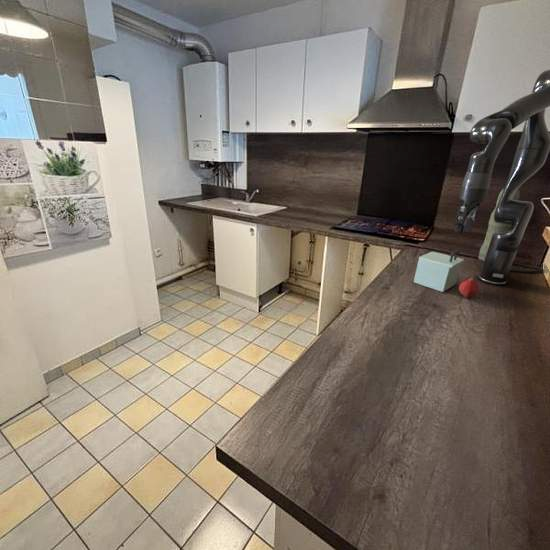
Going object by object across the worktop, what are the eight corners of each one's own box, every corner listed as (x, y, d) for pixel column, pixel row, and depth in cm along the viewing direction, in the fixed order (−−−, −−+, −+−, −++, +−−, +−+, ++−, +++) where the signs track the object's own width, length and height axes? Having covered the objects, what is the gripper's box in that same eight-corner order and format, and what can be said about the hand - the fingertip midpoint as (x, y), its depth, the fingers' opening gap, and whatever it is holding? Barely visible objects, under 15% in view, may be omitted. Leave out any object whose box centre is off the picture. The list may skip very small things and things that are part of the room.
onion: (453, 294, 110) (458, 274, 107) (467, 293, 111) (473, 274, 108) (463, 301, 105) (469, 281, 102) (478, 300, 106) (485, 280, 102)
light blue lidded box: (454, 284, 119) (461, 260, 115) (442, 292, 112) (449, 267, 108) (426, 275, 127) (431, 253, 123) (413, 282, 120) (418, 258, 116)
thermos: (501, 259, 148) (526, 188, 134) (494, 264, 141) (519, 190, 127) (482, 255, 154) (503, 186, 140) (474, 259, 147) (496, 188, 133)
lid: (464, 261, 114) (467, 249, 112) (452, 267, 107) (455, 255, 105) (431, 253, 123) (434, 242, 121) (418, 258, 116) (421, 247, 114)
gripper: (481, 189, 90) (467, 239, 97) (494, 185, 99) (480, 232, 105) (455, 186, 95) (443, 234, 102) (469, 183, 104) (458, 228, 111)
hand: (462, 233), depth 104 cm, fingers open, 8 cm apart
